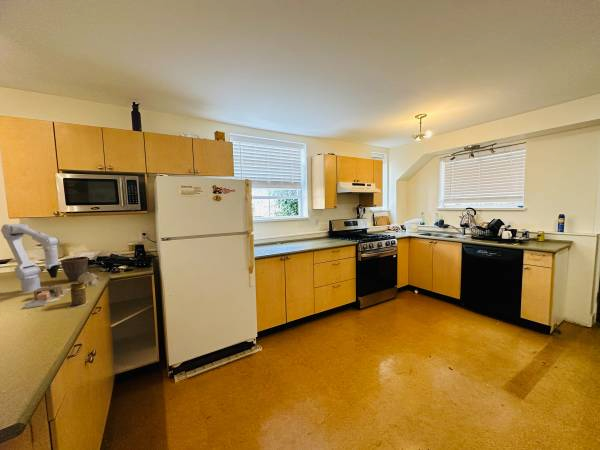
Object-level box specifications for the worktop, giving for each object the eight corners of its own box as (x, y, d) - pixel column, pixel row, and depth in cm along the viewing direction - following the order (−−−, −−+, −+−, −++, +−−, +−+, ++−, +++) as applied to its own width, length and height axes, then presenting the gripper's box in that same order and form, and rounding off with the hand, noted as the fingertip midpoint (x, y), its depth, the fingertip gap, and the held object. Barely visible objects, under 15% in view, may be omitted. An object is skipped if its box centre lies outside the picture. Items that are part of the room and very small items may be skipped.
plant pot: (93, 279, 183) (91, 257, 182) (66, 285, 171) (64, 262, 169) (85, 276, 191) (83, 255, 190) (59, 281, 179) (57, 259, 177)
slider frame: (44, 294, 150) (44, 286, 149) (60, 292, 153) (59, 284, 153) (25, 308, 130) (24, 298, 129) (44, 305, 133) (43, 296, 133)
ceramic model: (105, 283, 172) (104, 269, 171) (90, 289, 161) (89, 274, 160) (86, 283, 173) (84, 269, 172) (70, 289, 162) (68, 274, 161)
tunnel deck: (43, 293, 155) (42, 284, 155) (72, 289, 162) (71, 280, 161) (21, 308, 132) (19, 297, 132) (56, 303, 139) (55, 293, 138)
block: (40, 299, 142) (40, 293, 141) (50, 298, 143) (49, 291, 143) (37, 302, 138) (36, 295, 138) (47, 301, 140) (46, 294, 140)
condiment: (89, 300, 142) (87, 280, 141) (84, 306, 135) (82, 284, 134) (72, 303, 139) (70, 282, 138) (66, 308, 131) (64, 286, 130)
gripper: (55, 257, 150) (57, 279, 152) (64, 253, 163) (66, 273, 164) (39, 259, 147) (41, 281, 148) (49, 254, 160) (52, 275, 161)
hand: (53, 277), depth 156 cm, fingers closed
